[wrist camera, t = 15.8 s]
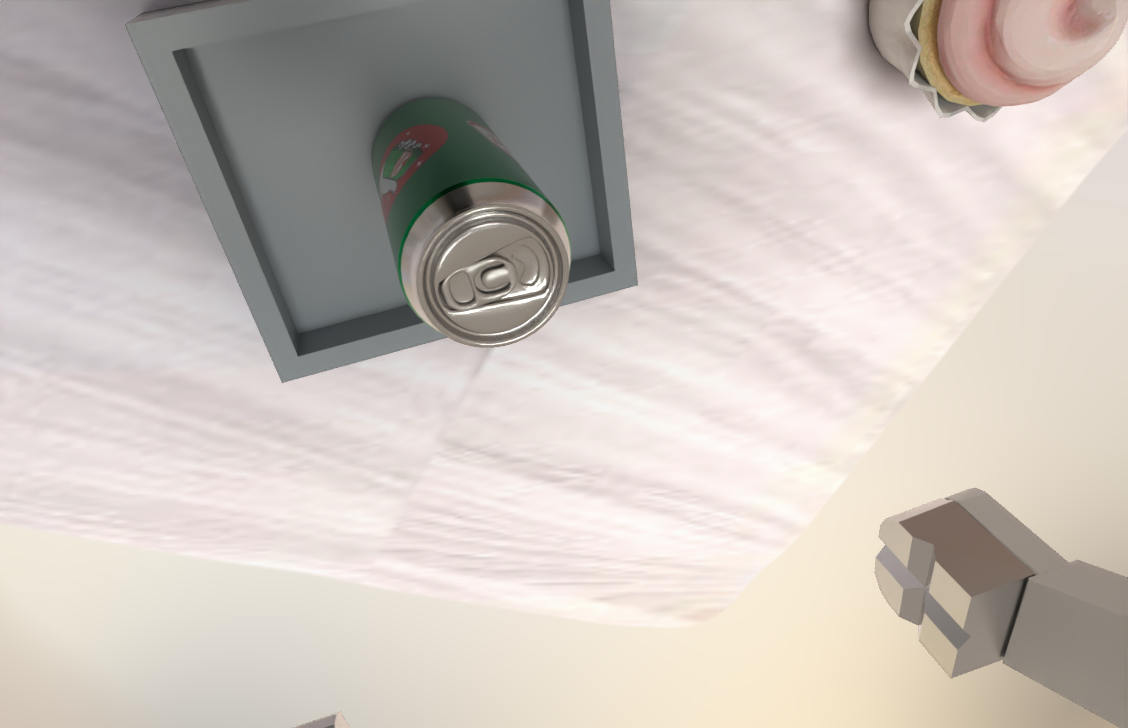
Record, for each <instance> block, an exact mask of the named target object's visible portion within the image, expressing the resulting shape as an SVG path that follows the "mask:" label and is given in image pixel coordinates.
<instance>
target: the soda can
mask: <svg viewBox="0 0 1128 728" xmlns="http://www.w3.org/2000/svg"><path fill="white" fill-rule="evenodd" d="M372 170H373V176H374V180H375V184H376V188H377V192H378V196H379V200H380V205H381V209H382V213H383V217H384V221H385V225H386V229H387V233H388V237H389V241H390V246H391V250H392V254H393V258H394V262H395V266H396V270H397V274H398V278H399V282H400V285H401V289H402V292H403V294H404V296H405V298H406V300H407V302H408V304H409V306H410V307H411V308H412V310H413V311H414V312H415V314H416V315H417V316H418V317H419V318H420V319H421V320H422V321H423V322H424V323H425V324H427V325H428V326H430V327H431V328H433V329H434V330H436V331H438V332H440V333H442V334H444V335H446V336H447V337H449V338H450V339H453V340H455V341H457V342H459V343H462V344H465V345H469V346H474V347H499V346H505V345H509V344H512V343H515V342H518V341H520V340H522V339H525V338H527V337H528V336H530V335H532V334H533V333H535V332H536V331H538V330H539V329H540V328H541V327H542V326H544V325H545V324H546V323H547V322H548V321H549V320H550V318H551V317H552V316H553V315H554V313H555V312H556V311H557V309H558V308H559V306H560V304H561V302H562V300H563V298H564V295H565V292H566V289H567V286H568V280H569V271H570V265H571V243H570V237H569V233H568V230H567V227H566V224H565V223H564V221H563V219H562V217H561V215H560V213H559V212H558V211H557V209H556V208H555V207H554V205H553V204H552V203H551V202H550V201H549V199H548V198H547V197H546V196H545V194H544V193H543V192H542V191H541V190H540V188H539V187H538V186H537V185H536V183H535V182H534V181H533V180H532V179H531V177H530V176H529V175H528V174H527V173H526V171H525V170H524V169H523V168H522V166H521V165H520V164H519V163H518V162H517V160H516V159H515V158H514V157H513V156H512V154H511V153H510V152H509V151H508V149H507V148H506V147H505V146H504V145H503V143H502V142H501V141H500V140H499V138H498V137H497V136H496V135H495V134H494V132H493V131H492V130H491V129H490V128H489V126H488V125H487V124H486V123H485V121H484V120H483V119H482V118H481V117H480V116H479V115H478V114H477V113H476V112H475V111H473V110H472V109H470V108H469V107H467V106H465V105H463V104H461V103H459V102H457V101H453V100H449V99H445V98H424V99H420V100H416V101H413V102H411V103H408V104H406V105H404V106H403V107H401V108H399V109H398V110H396V111H395V112H394V113H393V114H392V115H391V116H389V118H388V119H387V120H386V121H385V122H384V124H383V125H382V127H381V128H380V130H379V132H378V134H377V136H376V139H375V142H374V145H373V150H372Z"/></svg>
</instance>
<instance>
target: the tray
mask: <svg viewBox="0 0 1128 728" xmlns="http://www.w3.org/2000/svg"><path fill="white" fill-rule="evenodd" d="M125 26H126V28H127V30H128V33H129V35H130V37H131V39H132V42H133V44H134V46H135V49H136V51H137V53H138V55H139V58H140V60H141V62H142V65H143V67H144V69H145V71H146V74H147V76H148V78H149V80H150V83H151V85H152V87H153V90H154V92H155V94H156V96H157V99H158V101H159V103H160V106H161V108H162V110H163V112H164V115H165V117H166V119H167V122H168V124H169V126H170V128H171V131H172V133H173V135H174V137H175V140H176V142H177V144H178V147H179V149H180V151H181V153H182V156H183V158H184V160H185V163H186V165H187V167H188V169H189V172H190V174H191V176H192V179H193V181H194V183H195V185H196V188H197V190H198V192H199V194H200V197H201V199H202V201H203V204H204V206H205V208H206V210H207V213H208V215H209V217H210V220H211V222H212V224H213V226H214V229H215V231H216V233H217V236H218V238H219V240H220V242H221V245H222V247H223V249H224V251H225V254H226V256H227V258H228V261H229V263H230V265H231V267H232V270H233V272H234V274H235V277H236V279H237V281H238V283H239V286H240V288H241V290H242V293H243V295H244V297H245V299H246V302H247V304H248V306H249V308H250V311H251V313H252V315H253V318H254V320H255V322H256V324H257V327H258V329H259V331H260V334H261V336H262V338H263V340H264V343H265V345H266V347H267V350H268V352H269V354H270V356H271V359H272V361H273V363H274V365H275V368H276V370H277V372H278V375H279V377H280V379H281V381H282V383H283V382H287V381H291V380H294V379H298V378H301V377H305V376H309V375H312V374H316V373H320V372H323V371H327V370H331V369H334V368H338V367H342V366H345V365H349V364H352V363H356V362H360V361H363V360H367V359H371V358H374V357H378V356H382V355H385V354H389V353H392V352H396V351H400V350H403V349H407V348H411V347H414V346H418V345H422V344H425V343H429V342H432V341H436V340H440V339H443V338H447V336H446V335H444V334H442V333H440V332H438V331H436V330H434V329H433V328H431V327H430V326H428V325H427V324H425V323H424V322H423V321H422V320H421V319H420V318H419V317H418V316H417V315H416V314H415V312H414V311H413V310H412V308H411V307H410V306H409V304H408V302H407V300H406V298H405V296H404V294H403V292H402V289H401V285H400V282H399V278H398V274H397V270H396V266H395V262H394V258H393V254H392V250H391V246H390V241H389V237H388V233H387V229H386V225H385V221H384V217H383V213H382V209H381V205H380V200H379V196H378V192H377V188H376V184H375V180H374V176H373V170H372V150H373V145H374V142H375V139H376V136H377V134H378V132H379V130H380V128H381V127H382V125H383V124H384V122H385V121H386V120H387V119H388V118H389V116H391V115H392V114H393V113H394V112H395V111H396V110H398V109H399V108H401V107H403V106H404V105H406V104H408V103H411V102H413V101H416V100H420V99H424V98H445V99H449V100H453V101H457V102H459V103H461V104H463V105H465V106H467V107H469V108H470V109H472V110H473V111H475V112H476V113H477V114H478V115H479V116H480V117H481V118H482V119H483V120H484V121H485V123H486V124H487V125H488V126H489V128H490V129H491V130H492V131H493V132H494V134H495V135H496V136H497V137H498V138H499V140H500V141H501V142H502V143H503V145H504V146H505V147H506V148H507V149H508V151H509V152H510V153H511V154H512V156H513V157H514V158H515V159H516V160H517V162H518V163H519V164H520V165H521V166H522V168H523V169H524V170H525V171H526V173H527V174H528V175H529V176H530V177H531V179H532V180H533V181H534V182H535V183H536V185H537V186H538V187H539V188H540V190H541V191H542V192H543V193H544V194H545V196H546V197H547V198H548V199H549V201H550V202H551V203H552V204H553V205H554V207H555V208H556V209H557V211H558V212H559V213H560V215H561V217H562V219H563V221H564V223H565V224H566V227H567V230H568V233H569V237H570V243H571V265H570V271H569V280H568V286H567V289H566V292H565V295H564V298H563V300H562V302H561V304H560V306H563V305H567V304H571V303H574V302H578V301H582V300H585V299H589V298H593V297H596V296H600V295H603V294H607V293H611V292H614V291H618V290H622V289H625V288H629V287H633V286H636V285H638V281H637V271H636V261H635V251H634V241H633V231H632V221H631V211H630V201H629V190H628V180H627V170H626V160H625V150H624V140H623V130H622V120H621V110H620V100H619V90H618V80H617V70H616V60H615V50H614V40H613V30H612V19H611V9H610V0H209V1H204V2H199V3H193V4H188V5H183V6H178V7H172V8H167V9H162V10H157V11H151V12H146V13H142V14H140V15H139V16H137V17H136V18H134V19H133V20H131V21H129V22H128V23H126V24H125ZM560 306H559V307H560Z"/></svg>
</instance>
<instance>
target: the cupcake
mask: <svg viewBox="0 0 1128 728" xmlns="http://www.w3.org/2000/svg"><path fill="white" fill-rule="evenodd" d="M1127 19H1128V0H870V3H869V26H870V30H871V34H872V37H873V40H874V42H875V45H876V47H877V49H878V50H879V52H880V54H881V55H882V57H883V58H884V59H886V60H887V61H888V62H889V63H891V64H892V65H893V66H895V67H896V68H897V69H899V70H900V71H901V72H902V73H904V74H905V75H906V77H907V80H908V82H909V84H910V85H911V86H912V87H914V88H916V89H921V90H923V92H924V94H925V95H926V97H927V98H928V100H929V101H930V103H931V104H932V106H933V108H934V109H935V111H936V112H937V114H938V115H939V117H940V118H942V117H951V116H953V115H955V114H957V113H960V112H962V111H964V110H965V111H967V112H968V113H969V114H970V115H971V116H972V117H973V118H974V119H976V120H977V121H981V122H985V121H987V120H988V119H990V118H991V117H993V116H994V115H995V114H996V113H997V112H998V111H999V110H1000V109H1001V107H1002V106H1014V105H1021V104H1027V103H1032V102H1036V101H1039V100H1041V99H1043V98H1046V97H1048V96H1050V95H1052V94H1053V93H1055V92H1056V91H1058V90H1059V89H1060V88H1062V87H1063V86H1065V85H1066V84H1068V83H1070V82H1071V81H1072V80H1073V79H1075V78H1076V77H1078V76H1080V75H1081V74H1083V73H1084V72H1085V71H1087V70H1088V69H1090V68H1092V67H1093V66H1094V65H1095V64H1097V63H1098V62H1099V61H1100V60H1101V59H1103V57H1104V56H1105V55H1106V54H1107V53H1108V52H1109V51H1110V50H1111V49H1112V47H1113V46H1114V45H1115V44H1116V42H1117V41H1118V40H1119V37H1120V35H1121V33H1122V31H1123V29H1124V27H1125V25H1126V22H1127Z"/></svg>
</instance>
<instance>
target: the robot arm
mask: <svg viewBox="0 0 1128 728" xmlns="http://www.w3.org/2000/svg"><path fill="white" fill-rule="evenodd" d="M879 538H880V539H881V540H882V541H883V542H884V543H885V546H884V547H883V548H882V550H881V551H880V553H879V554H878V555H877V557H876V563H875V575H876V578H877V581H878V585H879V588H880V590H881V592H882V594H883V596H884V597H885V599H886V601H887V602H888V604H889V605H890V606H891V607H892V609H893V610H894V611H895V612H896V614H897V615H898V616H899V617H901V618H903V619H905V620H908V621H910V622H912V623H914V624H916V625H918V630H919V641H920V643H921V644H922V645H923V646H924V647H925V648H926V650H927V651H928V652H929V653H930V654H931V656H932V657H933V658H934V659H935V660H936V661H937V662H938V664H939V665H940V666H941V667H942V669H943V670H944V671H945V672H946V673H947V674H948V676H949V677H950V678H953V677H956V676H959V675H962V674H964V673H967V672H970V671H973V670H975V669H978V668H981V667H984V666H986V665H989V664H992V663H995V662H997V661H1000V660H1003V659H1004V660H1003V664H1005V665H1007V666H1009V667H1011V668H1012V669H1014V670H1016V671H1018V672H1020V673H1022V674H1023V675H1025V676H1027V677H1029V678H1031V679H1032V680H1034V681H1036V682H1038V683H1040V684H1042V685H1043V686H1045V687H1047V688H1049V689H1051V690H1052V691H1054V692H1056V693H1058V694H1060V695H1061V696H1063V697H1065V698H1067V699H1069V700H1070V701H1072V702H1074V703H1076V704H1078V705H1080V706H1081V707H1083V708H1085V709H1087V710H1089V711H1090V712H1092V713H1094V714H1096V715H1098V716H1100V717H1101V718H1103V719H1105V720H1107V721H1109V722H1110V723H1112V724H1114V725H1116V726H1118V727H1119V728H1128V577H1125V576H1122V575H1119V574H1116V573H1114V572H1111V571H1108V570H1105V569H1102V568H1099V567H1097V566H1094V565H1091V564H1088V563H1085V562H1082V561H1080V560H1075V561H1072V562H1067V561H1066V560H1065V559H1064V558H1063V557H1062V556H1060V555H1059V554H1058V553H1057V552H1056V551H1054V550H1053V549H1052V548H1051V547H1050V546H1049V545H1047V544H1046V543H1045V542H1044V541H1043V540H1041V539H1040V538H1039V537H1038V536H1037V535H1036V534H1034V533H1033V532H1032V531H1031V530H1030V529H1029V528H1027V527H1026V526H1025V525H1024V524H1023V523H1022V522H1020V521H1019V520H1018V519H1017V518H1016V517H1014V516H1013V515H1012V514H1011V513H1010V512H1009V511H1007V510H1006V509H1005V508H1004V507H1003V506H1002V505H1000V504H999V503H998V502H997V501H996V500H994V499H993V498H992V497H991V496H990V495H989V494H987V493H986V492H985V491H982V490H980V489H977V488H972V489H968V490H965V491H962V492H960V493H957V494H954V495H952V496H949V497H947V498H944V499H938V500H935V501H932V502H930V503H927V504H924V505H921V506H919V507H916V508H913V509H911V510H908V511H905V512H903V513H900V514H897V515H894V516H892V517H889V518H887V519H885V520H884V522H883V523H882V524H881V525H880V531H879ZM293 728H349V724H348V722H347V721H346V719H345V718H344V716H343V714H342V713H341V712H338V713H336V714H332V715H329V716H326V717H323V718H320V719H317V720H314V721H312V722H309V723H305V724H302V725H300V726H297V727H293Z"/></svg>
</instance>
